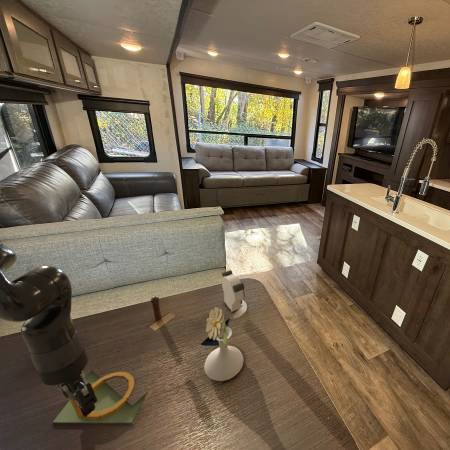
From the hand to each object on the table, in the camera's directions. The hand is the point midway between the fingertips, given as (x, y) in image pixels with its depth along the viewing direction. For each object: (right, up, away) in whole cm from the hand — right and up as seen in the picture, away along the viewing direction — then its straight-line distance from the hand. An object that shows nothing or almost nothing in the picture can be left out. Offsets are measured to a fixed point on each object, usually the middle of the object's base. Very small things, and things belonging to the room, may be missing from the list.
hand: (80, 402), depth 59 cm
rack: (+1, +7, +30) cm, 31 cm away
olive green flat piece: (+2, -3, +7) cm, 8 cm away
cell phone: (+22, +4, +30) cm, 38 cm away
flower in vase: (+29, -2, +16) cm, 34 cm away
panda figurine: (+26, +9, +39) cm, 48 cm away
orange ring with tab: (+2, -3, +6) cm, 7 cm away
